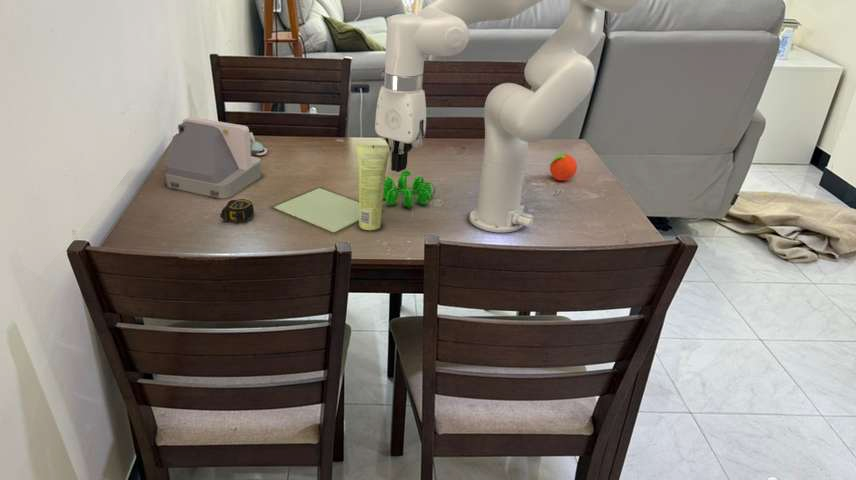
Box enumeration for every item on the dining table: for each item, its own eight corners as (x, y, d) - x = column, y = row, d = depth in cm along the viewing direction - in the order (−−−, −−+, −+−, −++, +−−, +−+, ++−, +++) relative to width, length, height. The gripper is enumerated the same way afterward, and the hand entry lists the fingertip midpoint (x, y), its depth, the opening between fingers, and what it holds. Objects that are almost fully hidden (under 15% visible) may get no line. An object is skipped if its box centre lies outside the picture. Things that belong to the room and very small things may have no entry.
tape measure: (230, 211, 161) (229, 196, 159) (258, 213, 160) (256, 198, 158) (220, 223, 155) (219, 208, 153) (249, 225, 154) (247, 210, 152)
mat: (379, 210, 162) (379, 209, 162) (334, 232, 151) (334, 231, 151) (319, 189, 173) (319, 187, 173) (273, 208, 163) (273, 206, 163)
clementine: (555, 186, 176) (559, 160, 172) (539, 177, 182) (543, 152, 178) (580, 182, 179) (584, 157, 175) (563, 173, 184) (568, 148, 181)
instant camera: (270, 178, 179) (267, 122, 172) (215, 203, 164) (209, 144, 157) (213, 161, 189) (207, 108, 182) (156, 184, 175) (147, 128, 167)
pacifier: (268, 149, 199) (247, 148, 199) (267, 128, 196) (246, 128, 196) (266, 157, 193) (245, 157, 192) (266, 136, 190) (244, 136, 189)
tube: (373, 219, 158) (375, 138, 148) (387, 226, 154) (390, 144, 145) (354, 225, 155) (355, 143, 145) (368, 233, 151) (370, 150, 141)
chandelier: (410, 216, 159) (412, 189, 156) (362, 199, 168) (363, 173, 164) (446, 197, 169) (448, 171, 166) (399, 182, 178) (400, 157, 174)
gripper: (362, 78, 134) (360, 165, 144) (422, 92, 126) (416, 183, 135) (385, 72, 139) (382, 156, 149) (445, 85, 131) (438, 174, 140)
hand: (398, 169), depth 142 cm, fingers closed
